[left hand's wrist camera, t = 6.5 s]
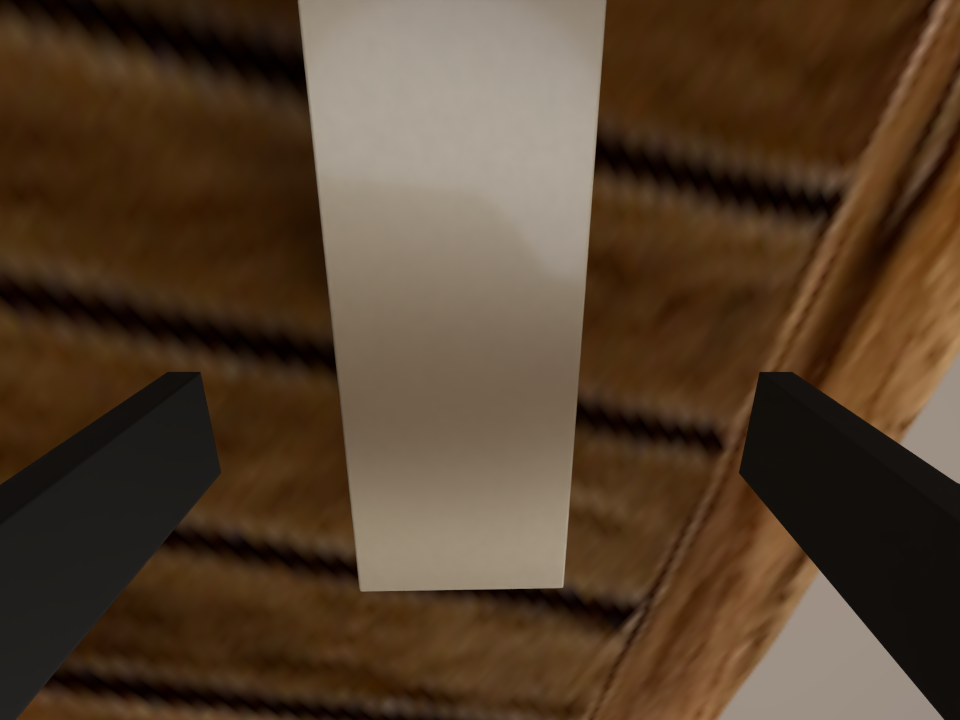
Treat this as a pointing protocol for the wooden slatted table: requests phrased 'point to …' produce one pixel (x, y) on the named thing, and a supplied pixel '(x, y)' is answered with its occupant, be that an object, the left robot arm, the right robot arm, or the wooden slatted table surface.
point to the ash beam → (456, 274)
